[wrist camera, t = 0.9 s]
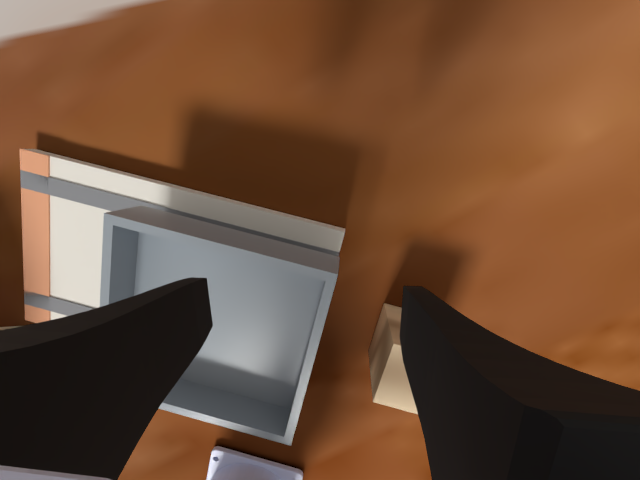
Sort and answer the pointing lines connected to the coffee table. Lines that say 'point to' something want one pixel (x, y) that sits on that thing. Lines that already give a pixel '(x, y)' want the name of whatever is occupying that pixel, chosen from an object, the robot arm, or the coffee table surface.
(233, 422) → the grey storage bin
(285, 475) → the robot arm
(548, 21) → the coffee table surface
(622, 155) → the coffee table surface
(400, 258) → the coffee table surface
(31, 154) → the track board
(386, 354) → the maple block
